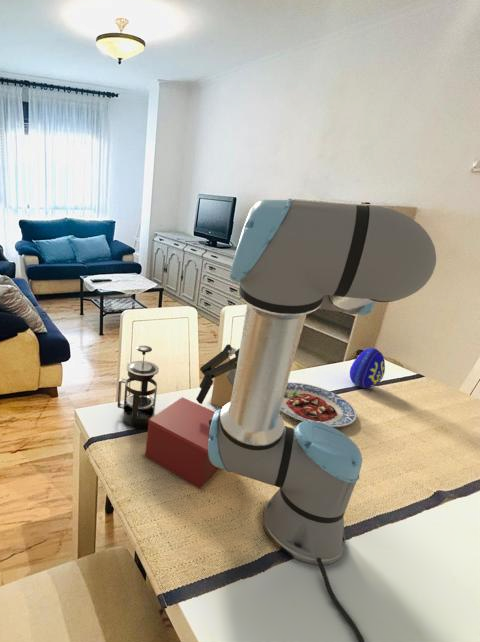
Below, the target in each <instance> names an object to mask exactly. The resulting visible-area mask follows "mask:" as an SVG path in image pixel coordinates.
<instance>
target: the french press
mask: <svg viewBox="0 0 480 642" xmlns="http://www.w3.org/2000/svg"><path fill="white" fill-rule="evenodd" d="M136 350H137V351H138V352H140V353H141V354H142V360H135V361H131V362H129V363H128V364H127V365H126V368H125V369H126V371H127V376H128V378H120V379H119V381H118V391H117V408H118V409H123V412H122V418H121V419H122V422H123V423H124V425H126V426H127V427H129V428H131V429H137V430H145V429H148V423H149V419H150V418H152V417H153V416H155V412H156V401H157V391H158V383H157V381H156V380H155V379H153V378H154V377H155V375H157V374H158V373H159V371H160V368H159V366H158V365H157V364H155V363H153V362H151V361H146V360H145V355H146V353H150V352H152V350H153V348H152V347H150V346H149V345H138V346H137V347H136ZM134 381H136V382H140V385H139V387H140V388H139V390H137V389H133V388H131V387H129V386H128V385H129V383H131V382H134ZM122 383H123V384H125V385H124V386H125V387H124V398H123V404H122V403H121V400H122V399H121V398H122V396H121V395H122ZM149 383H151V384H152V385H154V388H153V389H150V390H148V388H149V387H148V386H149ZM128 393H130V394H128ZM151 395H153V397H152V396H151ZM139 413H142V414H145V415H147V417H139ZM130 414H131V415H130Z"/></svg>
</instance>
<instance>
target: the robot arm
mask: <svg viewBox="0 0 480 642" xmlns="http://www.w3.org/2000/svg"><path fill="white" fill-rule="evenodd" d="M436 253H437V252H436V246H435V245H434V242H433V240H432V238H431V236H430V234H429V233H428V232H427V230H426V229H425V228H424V227H423V226H422V225H421V224H420V223H418V222H417V221H416V220H414V219H413V218H411V217H410V216H408V215H407V214H405V213H403V212H400V211H398V210H395V209H393V208H389V207H386V206H380V205H371V204H367V205H365V204H364V205H363V204H362V205H361V204H348V203H336V202H334V203H333V202H322V201H310V200H299V199H298V200H297V199H292V198H286V199H262V200H259V201H257V202H256V203H254V205H252V207H251V208H250V210H249V212H248V214H247V217H246V219H245V221H244V225H243V227H242V231H241V233H240V237H239V239H238V244H237V247H236V249H235V253H234V257H233V260H232V264H231V268H230V274H229V278H230V281H232V282H234V283H235V284H239V287H238V294H239V297H240V299H241V300H242V301H243V302H244V303H245V304H246V309H245V315H244V321H243V327H242V333H241V339H240V345H239V347H238V348H234V347H232V345H231V344H226V345H225V346H224V348H223V350H222V351H220V352H219V353H218V354H216V355H215V356H214V357H212V358H211V359H210V360H208V361H207V362H206V363H204V364H203V365H202V366H201V367H200V368H199V370H200V372H201V373H202V375H203V378H202V380H201V382H200V383H199V388H200V391H199V393H198V395H197V397H196V398H195V401H197V403H198V404H199V405H203V403H204V400H205V399H206V398H207V395H208V394H209V391H210V389H211V387H212V386H213V385H214V380H213V379H215V377H217V376H219V375H221V374H224V373H226V372H228V371H230V370H232V369H236V374H235V379H234V385H233V391H232V397H231V401H230V402H228V403H227V404H226V405H225V406H224V407H223V408H222V407H221V408H219V409H216V410H215V411H214V412H215V413H214V415H213V418H212V422H211V426H210V433H209V441H208V455H209V459H210V462H211V463H212V464H213V465H214V466H215V467H218V468H220V469H221V470H223V471H225V472H227V473H230V474H231V473H232V474H234V475H238V476H242V477H245V478H248V479H250V480H254V481H256V482H257V481H258V482H260V483H264V484H266V485H270V486H274V487H276V488H278V489H277V491H276V492H275V493H273V495H272V496H271V498H270V499H269V500H268V501H267V503H266V504H265V506H264V509H263V511H262V516H261V521H262V526H263V529H264V532H265V534H266V535H267V537H268V538H269V540H271V542H272V543H273V544H274V545H275V546H276V547H277V548H278V549H279V550H281V551H282V552H284V553H285V555H288V556H290V557H291V558H293V559H295V560H297V561H300V562H303V563H305V564H308V565H309V564H310V565H315V566H318V567H319V571H320V573H321V575H322V578H323V582H324V585H325V588H326V591H327V593H328V595H329V597H330V599H331V600H332V602H333V604H334V606H335V607H336V608H337V609H338V611H339V613H340V614H341V616H343V618H344V619H345V620H346V622H347V623H348V625H349V626H350V628H351V629H352V631H353V633H354V634H355V636H356V638H357V641H358V642H365V639H364V637H363V635H362V633H361V631H360V630H359V627H358V626H357V625H356V623H355V622H354V620H353V619H352V617H351V616H350V615H349V614H348V613H347V611H346V610H345V608H344V607H343V605H342V604H341V603H340V602H339V600H338V598H337V597H336V595H335V593H334V591H333V589H332V586H331V583H330V579H329V576H328V574H327V571H326V568H325V566H326V565H327V566H328V565H331V564H334V563H335V562H337V561H338V560H340V558H341V557H342V555H343V552H344V550H345V547H346V533H345V519H344V517H345V516H344V515H345V513H346V510H347V508H348V505H349V503H350V500H351V497H352V494H353V492H354V489H355V486H356V483H357V482H358V481H359V479H360V473H361V468H362V464H363V455H362V452H361V450H360V448H359V447H358V445H357V444H356V443H355V442H354V441H353V440H352V439H351V438H350V437H348V436H347V435H346V434H345V433H343V432H342V431H341V430H339V429H337V428H336V427H331V426H329V425H326V424H323V423H320V422H315V421H308V422H306V421H304V422H303V421H300V422H299V423H298V424H297V425H296V426H295V428H294V427H289V426H287V425H285V423H284V419H283V417H282V415H281V414H280V412H281V410H280V408H281V404H282V401H283V397H284V394H285V390H286V386H287V383H289V379H290V376H291V371H292V368H293V364H294V360H295V358H296V354H297V350H298V347H299V343H300V339H301V336H302V332H303V328H304V326H305V321H306V318H307V315H309V314H311V313H313V312H315V311H317V310H318V309H320V310H321V309H322V310H328V311H334V312H339V313H345V314H348V315H358V316H367V315H370V313H372V310H374V307H375V305H376V303H392V302H396V301H399V300H403V299H405V298H408V297H410V296H412V295H414V294H416V293H417V292H419V291H420V290H421V289H423V288H424V287H425V285H426V284H427V283H428V282H429V280H430V279H431V278H432V276H433V274H434V271H435V268H436V265H437V254H436ZM232 356H235V357H232ZM228 357H229V358H230V357H232V358H230V361H228V362H226V363H224V364H222V365H220V366H218V365H219V364H221V363H222V362H223V361H224V360H226V359H227V358H228ZM217 366H218V367H217Z"/></svg>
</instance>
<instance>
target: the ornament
mask: <svg viewBox="0 0 480 642" xmlns="http://www.w3.org/2000/svg"><path fill="white" fill-rule="evenodd" d="M385 371H386V364H385V357H384V355H383V354H382V351H380V350H378V349H377V348H375V347H368V348H366V349H364V350H363V351H361V353H360V354H359V355H357V357H356V358H355V359H354V361H353V362H352V365H351V366H350V369H349V378H350V380H351V382H352V383H353V385H355V386H357V387H359V388H361V389H366V390H367V389H368V390H369V389H371V388H374V387H375V386H377V385H378V384H379V383H380V382H381V381H382V379H383V378H384V376H385Z"/></svg>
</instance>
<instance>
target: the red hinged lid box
mask: <svg viewBox="0 0 480 642" xmlns="http://www.w3.org/2000/svg"><path fill="white" fill-rule="evenodd" d="M144 456H145V457H146V458H148V459H149V460H151V461H153V462H155V463H156V464H158V465H160V466H161V467H162V468H165V469H166V470H168V471H169V472H172V473H173V474H175V475H176V476H177V477H179V478H181V479H183V480H184V481H186V482H188V483H189V484H191V485H193V486H194V487H196V488H197V489H199V490H200V489H202V488H203V487H204V486H205V484H207V483H208V481H209V480H210V479H211V478H212V477H214V475H215V474H216V473H217V472H218V471H219V470H220V469H221V468H218V467H215V466H214V465H213V464H212V463H211V462H210V459H209V455H208V454H206V453H205V452H203V451H201V450H199V449H197V448H195V447H193V446H191V445H189V444H188V443H186V442H184V441H182V440H180V439H178V438H176V437H174V436H173V435H171V434H169V433H167V432H165V431H163V430H161V429H159V428H157V427H156V426H154V425H152V424H150V423H148V428H147V435H146V445H145V454H144Z"/></svg>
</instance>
